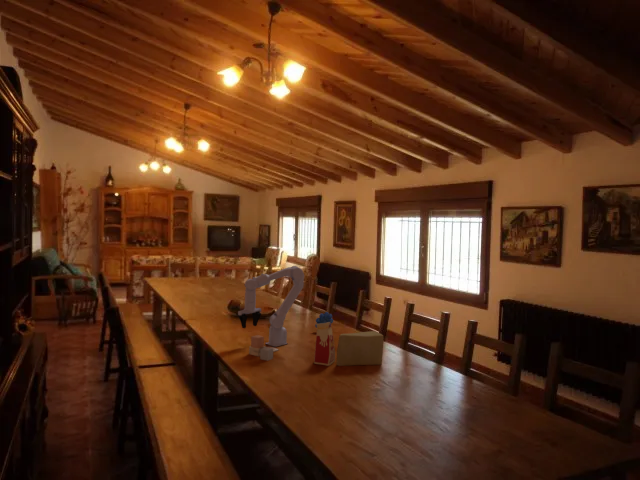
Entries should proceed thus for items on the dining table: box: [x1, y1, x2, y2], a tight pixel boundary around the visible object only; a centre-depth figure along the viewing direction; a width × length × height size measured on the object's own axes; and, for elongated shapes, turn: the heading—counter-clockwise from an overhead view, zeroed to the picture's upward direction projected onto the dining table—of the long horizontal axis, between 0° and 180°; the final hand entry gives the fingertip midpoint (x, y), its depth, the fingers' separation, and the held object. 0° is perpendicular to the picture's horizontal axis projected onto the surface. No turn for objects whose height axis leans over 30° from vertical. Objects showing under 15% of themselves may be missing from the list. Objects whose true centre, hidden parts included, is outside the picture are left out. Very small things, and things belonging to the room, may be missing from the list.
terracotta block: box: [250, 334, 265, 348], centre depth 243 cm, size 4×4×5 cm
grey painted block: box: [259, 346, 274, 362], centre depth 236 cm, size 4×4×5 cm
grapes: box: [314, 311, 334, 329], centre depth 296 cm, size 12×7×12 cm, turn 110°
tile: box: [267, 346, 279, 353], centre depth 251 cm, size 7×7×1 cm
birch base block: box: [248, 345, 267, 357], centre depth 243 cm, size 6×6×4 cm
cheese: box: [336, 330, 384, 367], centre depth 233 cm, size 22×10×15 cm, turn 111°
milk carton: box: [313, 322, 336, 367], centre depth 234 cm, size 9×9×20 cm
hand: (249, 326), depth 258 cm, fingers open, 7 cm apart
